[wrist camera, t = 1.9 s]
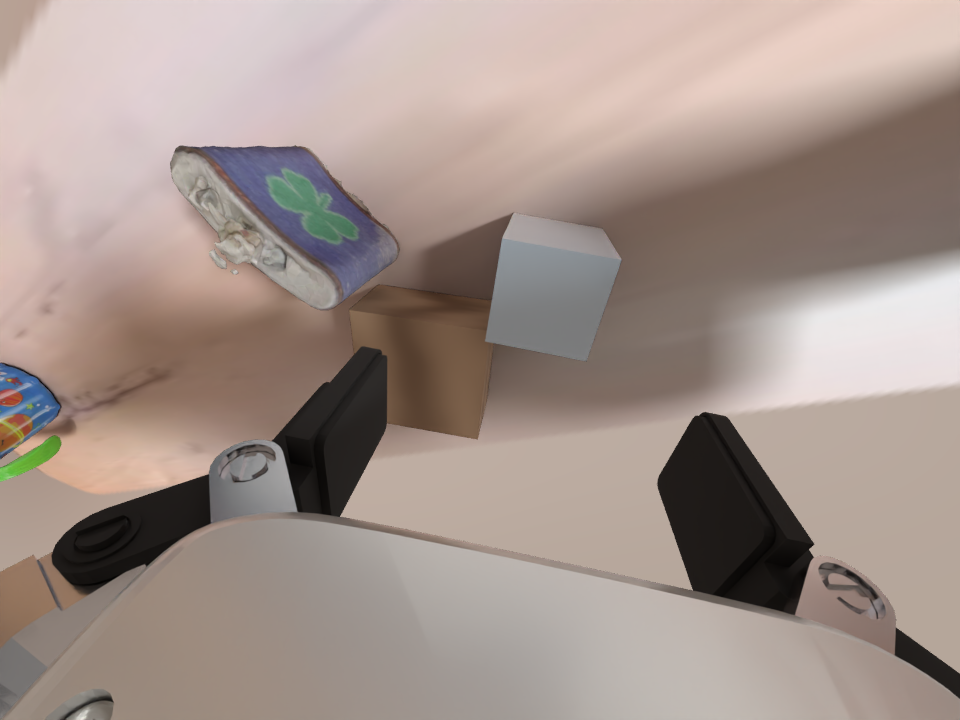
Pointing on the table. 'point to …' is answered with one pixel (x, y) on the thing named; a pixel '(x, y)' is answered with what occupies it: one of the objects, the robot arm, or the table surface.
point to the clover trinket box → (285, 219)
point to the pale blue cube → (551, 286)
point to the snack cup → (24, 419)
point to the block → (429, 356)
